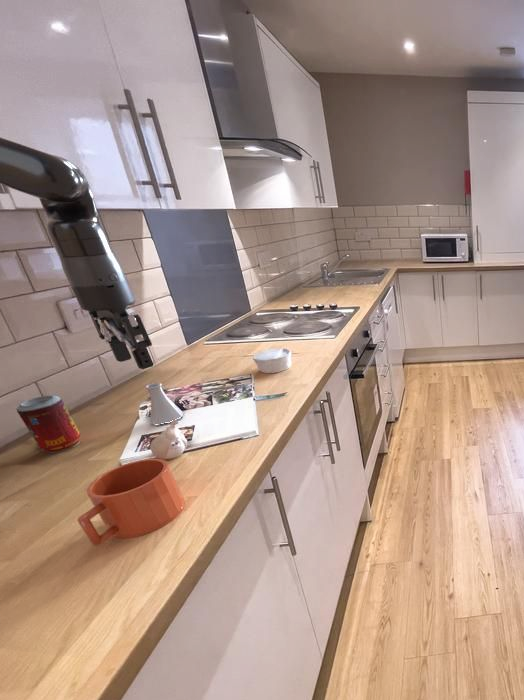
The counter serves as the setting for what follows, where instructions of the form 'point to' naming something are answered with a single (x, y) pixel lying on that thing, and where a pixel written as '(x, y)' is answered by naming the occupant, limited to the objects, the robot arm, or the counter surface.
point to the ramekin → (273, 360)
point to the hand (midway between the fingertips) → (135, 363)
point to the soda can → (49, 423)
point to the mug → (133, 500)
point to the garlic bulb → (169, 443)
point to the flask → (161, 405)
